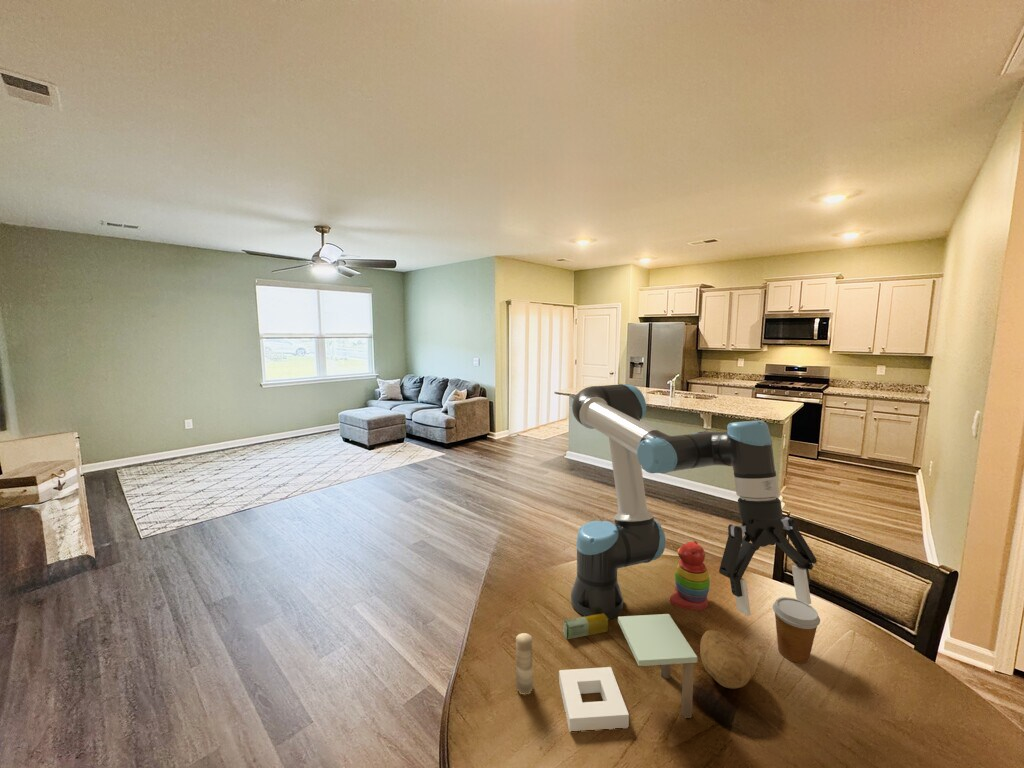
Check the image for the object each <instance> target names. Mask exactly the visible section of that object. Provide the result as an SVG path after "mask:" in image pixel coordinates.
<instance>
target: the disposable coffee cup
mask: <svg viewBox="0 0 1024 768" xmlns="http://www.w3.org/2000/svg"><path fill="white" fill-rule="evenodd" d="M772 610H773V612H774V617H775V618H774V619H775V629H776V630H775V631H776V639H777V650H778V652H779V654H780V655H781V656H782V657H784V658H785V659H787V660H789V661H790V662H792V663H793V662H794V663H797V664H805V663H808V662H809V660H810V656H811V652H812V648H813V644H814V641H815V637H816V632H817V629H818V626H819V625H820V624H821V618H820V617H819V615H818V614H819V613H818V611H817V610H816V609H815V607H813V606H812V605H811V604H806V603H804V602H802V601H800V600H798V599H796V598H794V597H789V596H788V597H786V596H785V597H783V596H781V597H778V598H777V599H776V600H775V602H774V603H773V604H772Z"/></svg>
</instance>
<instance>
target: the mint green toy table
mask: <svg viewBox="0 0 1024 768" xmlns="http://www.w3.org/2000/svg"><path fill="white" fill-rule="evenodd" d="M617 623H618V624H619V626H620V630H621V631H622V633H623V636H624V638H625V639H626V642H627V644H628V647H629V648H630V651H631V652H632V655H633V657H634V659H635V661H636V663H637V666H638V667H644V666H645V667H646V666H660V665H661V669H660V671H661V672H660V675H661V677H662V678H663V679H665V680H667V679H668V680H669V679H670V678H671V670H672V669H671V667H672V665H677V664H678V665H679V664H682V686H681V691H682V692H681V713H682V714H681V713H680V714H681V716H682V715H683V716H684V717H686V718H690V717H692V718H693V695H694V693H693V692H694V670H695V669H694V667H695V666H694V665H695V663H696V664H697V663H698V655H697V654H696V653H695V651H694V650H693V648H692V647H691V646H690V645H691V644H689V642H688V641H687V639H686V637H685V636H684V634H683V633H682V631H681V630H680V628H679V627H678V625H677V624H676V623H675V621H674V619H673V618H672V616H671V615H670V614H669V613H662V614H661V613H660V614H659V613H657V614H643V615H642V614H641V615H626V616H625V615H624V616H617ZM683 716H682V717H683ZM684 717H683V718H684ZM686 718H685V719H686Z"/></svg>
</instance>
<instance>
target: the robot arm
mask: <svg viewBox="0 0 1024 768" xmlns="http://www.w3.org/2000/svg"><path fill="white" fill-rule="evenodd" d="M646 402H647V401H646V399H645V396H644V395H643V392H642V391H641V390H640V389H639V388H638V387H637V386H635V385H633V384H622V383H620V384H619V383H618V384H611V385H610V384H609V385H591V386H586V387H585V388H583V389H581V390H580V391H579V392H578V393H577V394H576V395H575V396H574V398H573V401H572V405H571V408H572V414H573V417H574V418H575V420H576V421H577V422H578V423H579V424H580V425H582V426H583V427H585V428H587V429H590V430H594V429H595V431H598V432H599V433H601V434H602V435H604V436H606V437H608V441H609V442H608V443H609V449H610V457H611V464H612V470H613V471H612V472H613V480H614V487H615V488H614V489H615V494H616V495H615V497H616V502H617V503H616V504H617V513H616V514H615V515H614V517H613V518H614V523H613V522H610V521H609V520H608V521H607V520H603V521H601V520H592V521H588V522H586V523H584V524H583V525H581V526H580V528H579V529H578V531H577V536H576V543H575V544H576V545H575V547H576V577H575V581H574V583H573V586H572V588H571V592H570V603H571V607H573V610H575V611H576V612H577V613H578V614H580V615H582V617H586V616H591V615H596V614H602V613H604V614H605V615H606V616H607V618H608V620H610V619H611V620H612V619H614V618H616V617H619V615H620V614H621V613H622V612H623V610H624V598H623V594H622V591H621V587H620V584H619V582H618V570H619V569H622V568H626V567H627V568H628V567H632V566H634V565H639V564H647V563H648V564H649V563H650V562H652V561H655V560H657V559H659V558H661V557H662V556H663V554H664V552H665V549H666V536H665V535H666V534H665V531H664V529H663V528H662V524H660V522H659V521H658V520H656V519H655V517H654V514H653V513H652V512H650V511H649V510H648V505H647V499H646V498H647V497H646V492H645V484H644V477H643V471H644V472H647V473H649V474H668V473H671V472H676V471H683V470H690V469H698V468H705V467H711V466H712V467H713V466H724V467H732V470H733V477H734V485H735V494H736V496H738V497H739V498H738V499H737V505H738V512H739V516H740V518H741V520H742V523H741V525H734V524H731V523H730V524H728V526H727V532H728V534H727V535H728V537H727V540H726V542H725V543H726V545H725V547H724V550H723V551H724V552H723V554H722V558H721V562H720V566H719V569H718V570H719V571H718V572H719V574H720V575H722V576H724V577H726V578H728V579H729V582H730V588H731V593H732V595H734V596H735V600H736V601H735V602H736V610H737V611H739V612H740V613H742V614H744V615H745V616H748V617H749V616H752V614H751V608H750V607H751V606H750V600H749V599H750V598H749V592H748V586H747V580H746V579H745V578H743V576H744V574H745V572H746V570H747V568H748V566H749V565H750V562H751V561H752V559H753V556H754V555H755V553H756V552H757V551H759V549H760V548H761V547H763V548H764V547H767V546H769V545H770V546H777V547H778V548H779V549H781V552H783V553H784V554H785V555H786V556H787V557H788V558H789V559H790V561H792V562H793V563H794V564H795V565H791V570H792V571H791V572H792V577H793V578H792V579H793V584H794V592H795V597H796V598H795V599H798V600H800V601H802V602H804V603H806V604H809V605H811V604H812V598H811V593H810V588H809V585H810V584H811V577H810V571H809V570H813V568H814V565H813V564H817V563H818V561H817V557H816V556H815V554H814V553H813V551H812V550H811V548H810V546H809V545H808V543H807V542H806V540H805V538H804V537H803V535H802V533H801V532H800V530H799V527H798V523H797V520H796V519H795V518H791V517H788V516H784V515H783V509H782V503H781V500H780V499H779V496H780V489H779V484H778V477H777V472H776V466H775V457H774V450H773V440H772V438H771V437H772V436H771V433H770V430H769V429H770V428H769V425H768V424H767V422H765V421H763V420H750V421H748V420H747V421H735V422H730V423H728V424H727V431H698V432H693V433H688V434H680V435H668V434H666V433H664V432H663V431H660V430H658V429H656V428H653V427H652V426H650V425H648V424H646V423H644V422H642V421H641V420H642V419H643V418H644V417H645V415H646V412H647V403H646ZM783 530H784V532H785V534H786V535H787V537H788V538H787V537H786V536H784V534H783V533H782V532H783ZM789 540H790V542H791V543H792V544H791V543H790V542H789Z"/></svg>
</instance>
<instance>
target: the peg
mask: <svg viewBox="0 0 1024 768" xmlns="http://www.w3.org/2000/svg"><path fill="white" fill-rule="evenodd" d="M515 658H516V659H515V660H516V661H515V669H516V670H515V671H516V673H515V675H516V679H515V680H516V690H517V689H518V690H519V691H520V692H521V693H525V694H526V693H529V692H531V691H532V692H533V690H532V689H533V682H534V681H533V680H534V679H533V638H532V636H531V634H529V633H526V632H524V633H523V632H522V633H519V634H517V635H516V637H515ZM532 692H531V693H532Z"/></svg>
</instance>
